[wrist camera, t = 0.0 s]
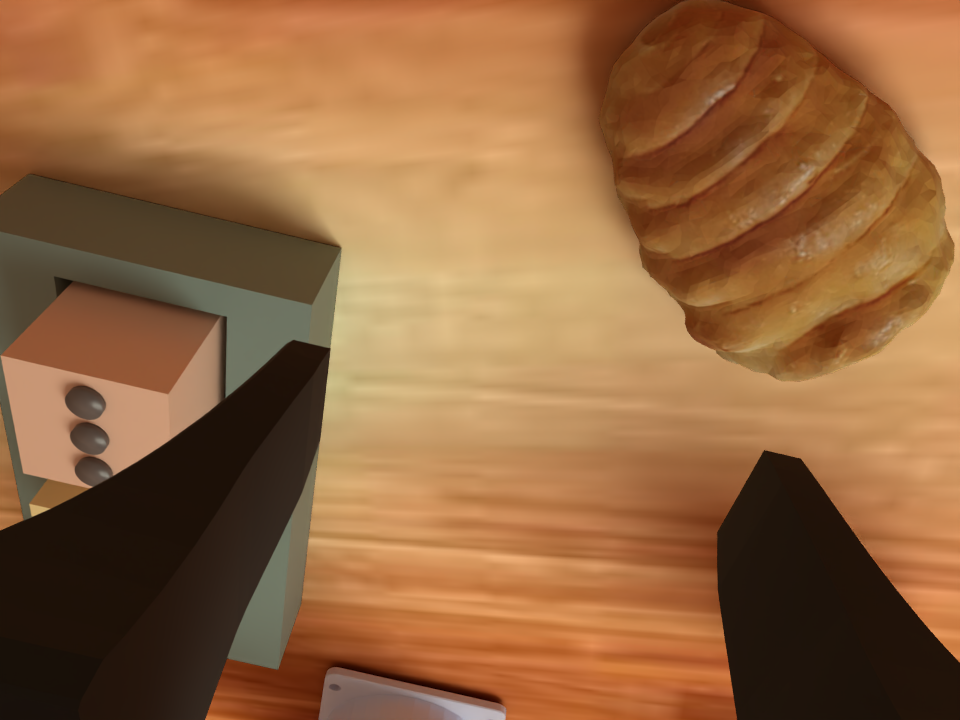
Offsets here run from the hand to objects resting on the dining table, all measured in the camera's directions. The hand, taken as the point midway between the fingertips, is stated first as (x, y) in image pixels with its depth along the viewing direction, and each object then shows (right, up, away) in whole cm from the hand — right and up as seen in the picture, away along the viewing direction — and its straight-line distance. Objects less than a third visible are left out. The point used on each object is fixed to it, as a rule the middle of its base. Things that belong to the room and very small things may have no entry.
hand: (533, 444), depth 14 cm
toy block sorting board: (-11, -1, +15) cm, 19 cm away
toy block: (-10, +2, +11) cm, 15 cm away
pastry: (+6, +6, +8) cm, 12 cm away
